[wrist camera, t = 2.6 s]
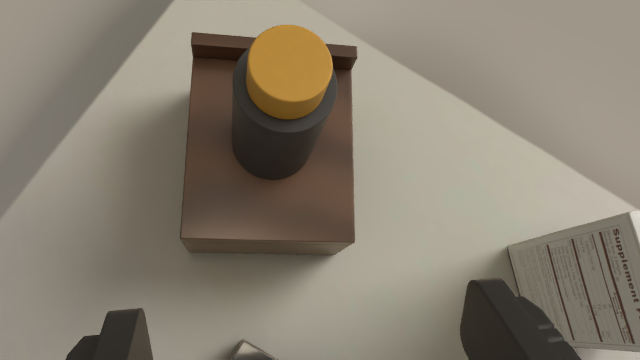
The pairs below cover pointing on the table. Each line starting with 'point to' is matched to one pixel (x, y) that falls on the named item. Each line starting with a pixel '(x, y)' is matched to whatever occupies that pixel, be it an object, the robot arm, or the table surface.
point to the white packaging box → (586, 281)
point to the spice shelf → (257, 193)
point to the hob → (250, 352)
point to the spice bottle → (281, 100)
